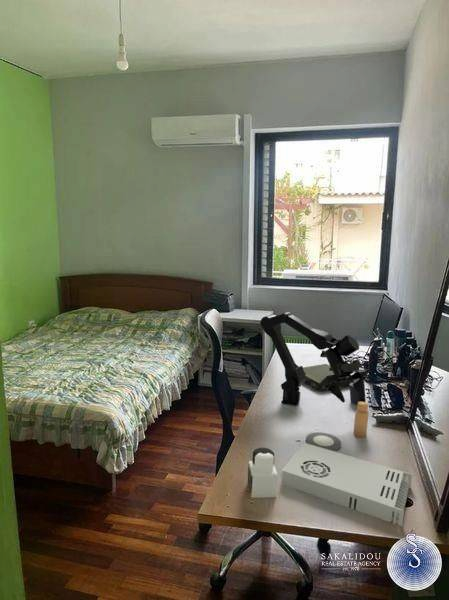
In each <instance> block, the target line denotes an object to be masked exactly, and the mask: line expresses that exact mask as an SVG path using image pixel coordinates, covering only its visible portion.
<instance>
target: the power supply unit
mask: <svg viewBox="0 0 449 600" xmlns="http://www.w3.org/2000/svg"><path fill="white" fill-rule="evenodd" d="M412 477H413V474H412V473H409V472H406V471H403V470H399V469H395V468H394V467H393V468H392V467H389V466H385V465H383V464H379V463H375V462H372V461H369V460H366V459H362V458H358V457H355V456H351V455H347V454H345V453H342V452H341V453H340V452H337V451H331V450H328V449H324V448H321V447H317V446H314V445H310V444H307V443H306V442H302V444H301V445H300V446H299V448H298V449H297V450H296V452H295V453H294V454H293V456H292V457H290V459H289V460H288V461H287V463H286V465H284V467H283V469H282V470H281V481H280V482H281V485H283V486H286V487H289V488H291V489H294V490H297V491H300V492H303V493H306V494H309V495H311V496H315V497H317V498H321V499H324V500H326V501H329V502H331V503H334V504H337V505H341V506H343V507H346V508H350V509H351V510H354V509H355V511H358V512H360V513H363V514H366V515H368V516H371V517H374V518H377V519H380V520H383V521H385V522H389V523H393V524H394V525H396V524H397V525H398V526H400V527H403V525H404V524H403V523H404V514H405V508H406V504H407V500H408V494H409V490H410V489H411V487H412V480H413V478H412ZM406 478H407V481H406Z"/></svg>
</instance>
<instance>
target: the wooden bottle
mask: <svg viewBox="0 0 449 600" xmlns="http://www.w3.org/2000/svg"><path fill="white" fill-rule="evenodd" d="M356 408H357V409H355V414H354V422H353V423H354V425H353V435H354V436H355V437H358V438H361V439H363V438H366V437H367V433H368V424H369V423H368V421H369V414H370V412H369V403H368V402H367V401H366V402H362V401H360V402H358V405H357V407H356Z"/></svg>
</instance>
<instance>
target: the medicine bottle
mask: <svg viewBox="0 0 449 600" xmlns="http://www.w3.org/2000/svg"><path fill="white" fill-rule="evenodd" d="M247 468H248V469H247V486H248V490H249V494H250V498H252V499H259V498H260V499H264V498H265V499H267V498H269V499H270V498H277V494H278V493H277V491H278V490H277V489H278V479H279V478H278V477H279V476H278V472H277V469H276V466H275V452H274V451H273V450H272V449H271V448H268V447H257V448H255V449H254V450H253V452H252V460H249V461H248V467H247Z"/></svg>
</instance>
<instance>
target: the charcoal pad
mask: <svg viewBox="0 0 449 600" xmlns="http://www.w3.org/2000/svg"><path fill="white" fill-rule="evenodd" d="M305 443H307V444H310V445H314V446H317V447H321V448H324V449H328V450H331V451H335V452H337V451H338V450H340V449H341V448H342V441H341V440H340V439H339V438H338V437H337V436H335V435H333V434H331V433H326V432H319V431H318V432H311V433H309V434H308V435H306V436H305Z"/></svg>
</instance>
